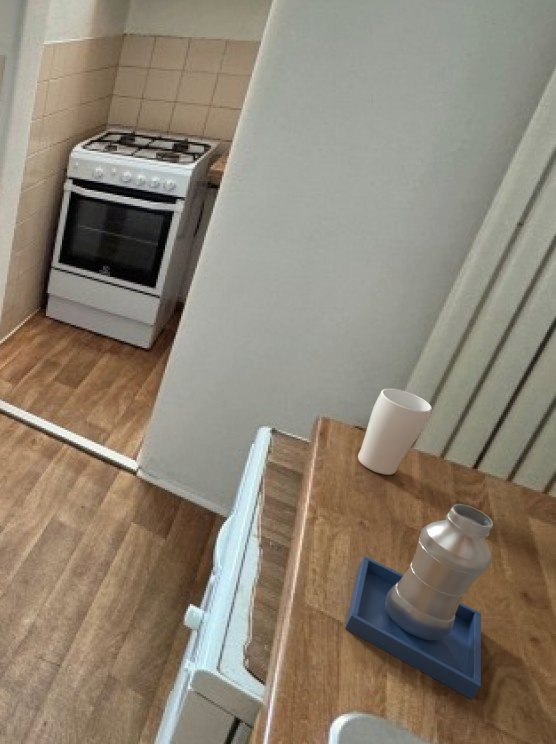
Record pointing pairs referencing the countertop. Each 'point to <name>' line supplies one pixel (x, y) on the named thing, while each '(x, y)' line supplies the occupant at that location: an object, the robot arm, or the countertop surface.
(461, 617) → the blue tray
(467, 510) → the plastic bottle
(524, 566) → the countertop surface
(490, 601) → the countertop surface
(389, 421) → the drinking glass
